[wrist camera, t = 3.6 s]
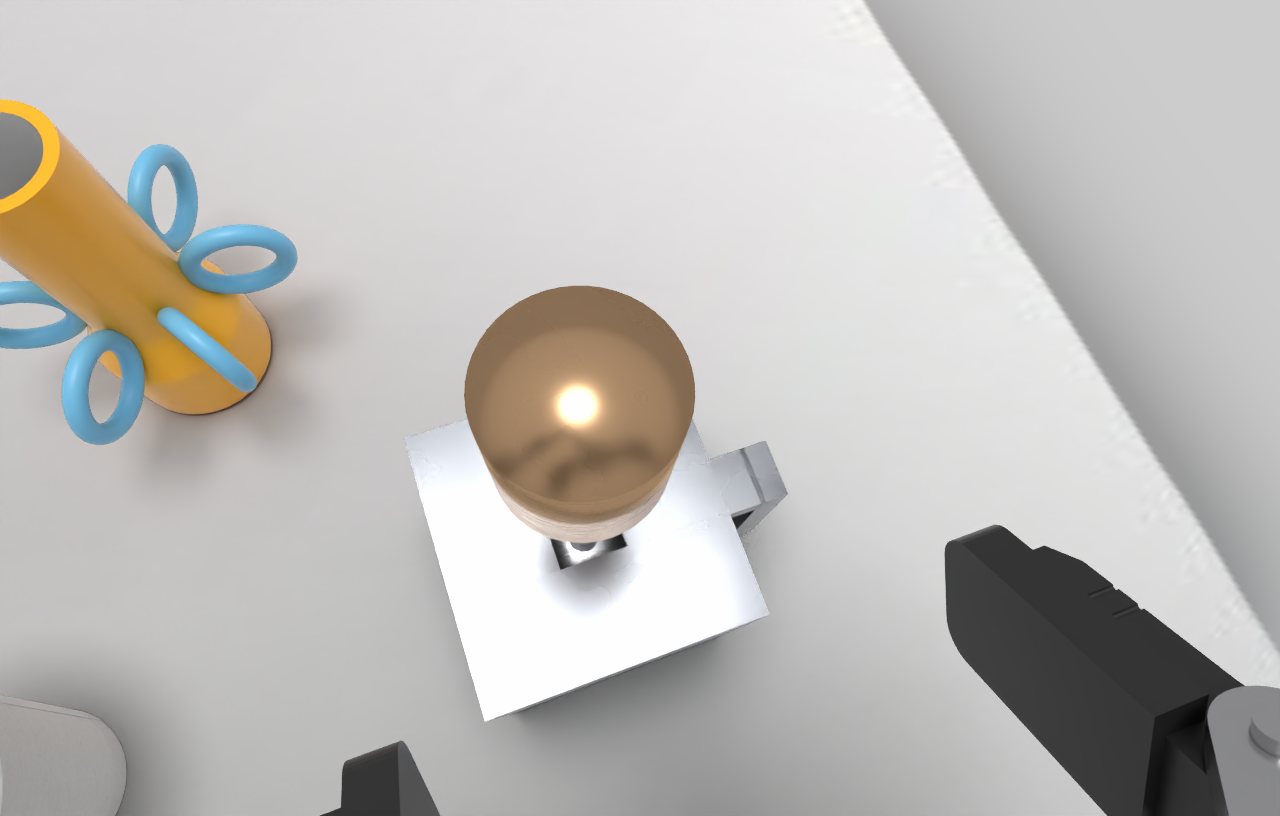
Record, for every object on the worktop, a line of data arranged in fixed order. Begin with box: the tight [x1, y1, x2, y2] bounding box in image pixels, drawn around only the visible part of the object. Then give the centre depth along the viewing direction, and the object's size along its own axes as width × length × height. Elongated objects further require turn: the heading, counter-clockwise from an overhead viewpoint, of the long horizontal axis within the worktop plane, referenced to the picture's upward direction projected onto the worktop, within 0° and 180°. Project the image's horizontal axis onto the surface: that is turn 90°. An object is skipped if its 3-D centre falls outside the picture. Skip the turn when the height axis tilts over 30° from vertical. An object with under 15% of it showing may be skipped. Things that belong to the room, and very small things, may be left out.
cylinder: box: [0, 100, 297, 445], centre depth 32 cm, size 12×10×15 cm
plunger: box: [464, 286, 695, 570], centre depth 22 cm, size 7×7×15 cm
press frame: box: [404, 418, 788, 721], centre depth 32 cm, size 12×9×11 cm
